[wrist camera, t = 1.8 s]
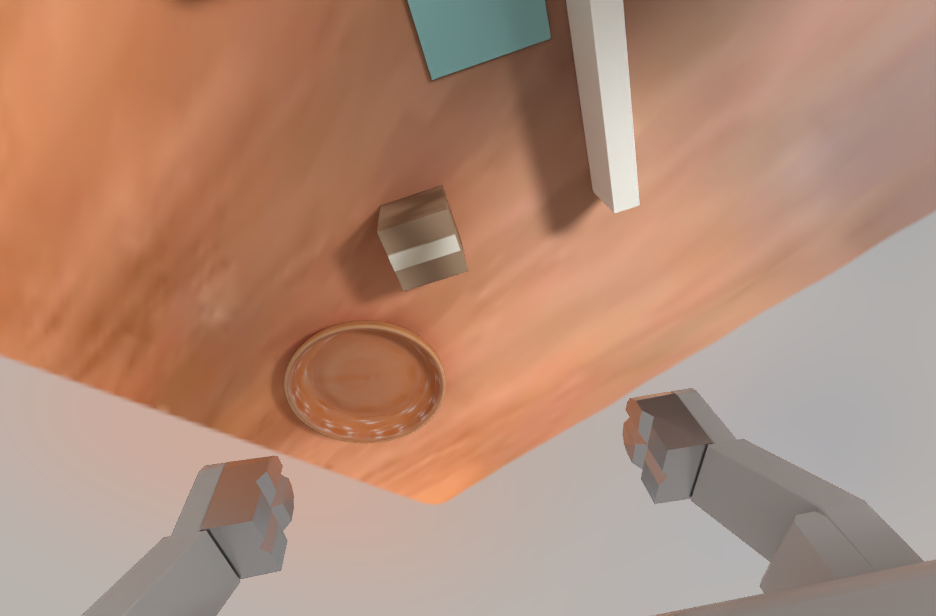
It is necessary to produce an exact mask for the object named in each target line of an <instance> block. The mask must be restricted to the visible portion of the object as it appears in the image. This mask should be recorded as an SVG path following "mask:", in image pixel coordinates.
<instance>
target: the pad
mask: <svg viewBox="0 0 936 616" xmlns="http://www.w3.org/2000/svg"><path fill="white" fill-rule="evenodd" d="M407 1H408V4H409V7H410V10H411V14H412V17H413V20H414V23H415V27H416V30H417V33H418V36H419V40H420V43H421V46H422V49H423V53H424V56H425V59H426V62H427V65H428V69H429V72H430V75H431V78H432V80H434V79H437V78H439V77H442V76H445V75H448V74H451V73H454V72H457V71H459V70H462V69H465V68H468V67H471V66H474V65H477V64H480V63H482V62H485V61H488V60H491V59H494V58H497V57H500V56H502V55H505V54H508V53H511V52H514V51H517V50H520V49H522V48H525V47H528V46H531V45H534V44H537V43H540V42H543V41H545V40H548V39H551V35H550V28H549V22H548V16H547V10H546V4H545V0H407Z"/></svg>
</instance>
